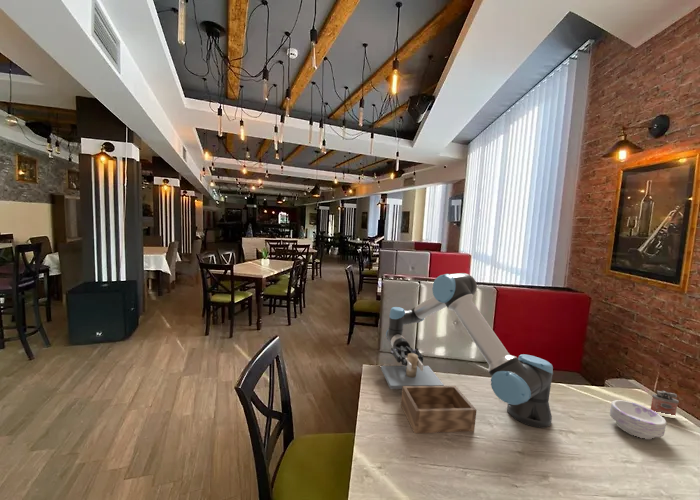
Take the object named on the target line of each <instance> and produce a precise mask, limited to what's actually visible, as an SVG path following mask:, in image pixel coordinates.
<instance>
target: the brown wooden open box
mask: <svg viewBox="0 0 700 500" xmlns="http://www.w3.org/2000/svg"><path fill="white" fill-rule="evenodd" d="M400 406H401V408H402V410H403V412H404V415H405V416H406V419H407V420H408V423H409V425H410V426H411V427H410V428H411V430H412V431H413V433H414V434H429V433H431V434H433V433H459V432H460V433H461V432H463V433H464V432H475V427H476V426H475V425H476V418H477V408H476V407H474V405H473V404H472V403H471V402H470V401H469V400H468V399H467V396H466V395H464V394H463V392H462V391H460V389H459V387H457V386H456V385H444V386H402V389H401V399H400Z"/></svg>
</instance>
